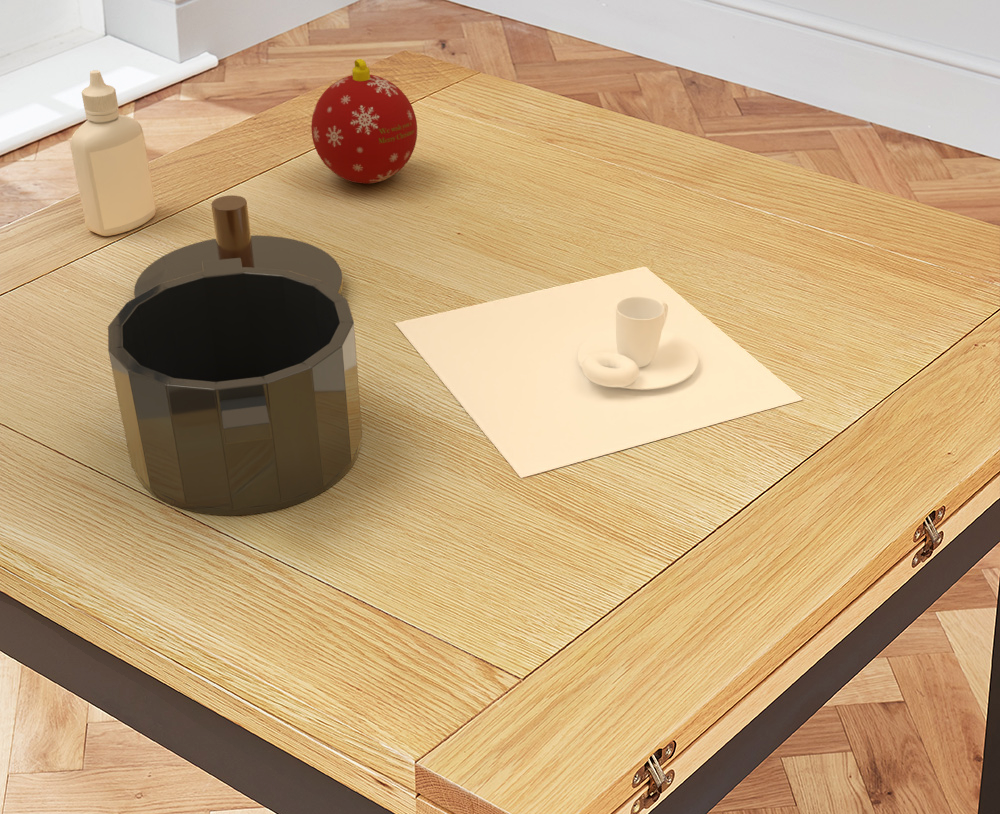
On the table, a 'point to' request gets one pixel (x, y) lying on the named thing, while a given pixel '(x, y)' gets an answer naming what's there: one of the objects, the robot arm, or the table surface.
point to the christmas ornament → (364, 127)
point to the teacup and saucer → (591, 369)
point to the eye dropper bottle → (111, 164)
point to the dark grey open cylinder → (237, 388)
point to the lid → (241, 251)
